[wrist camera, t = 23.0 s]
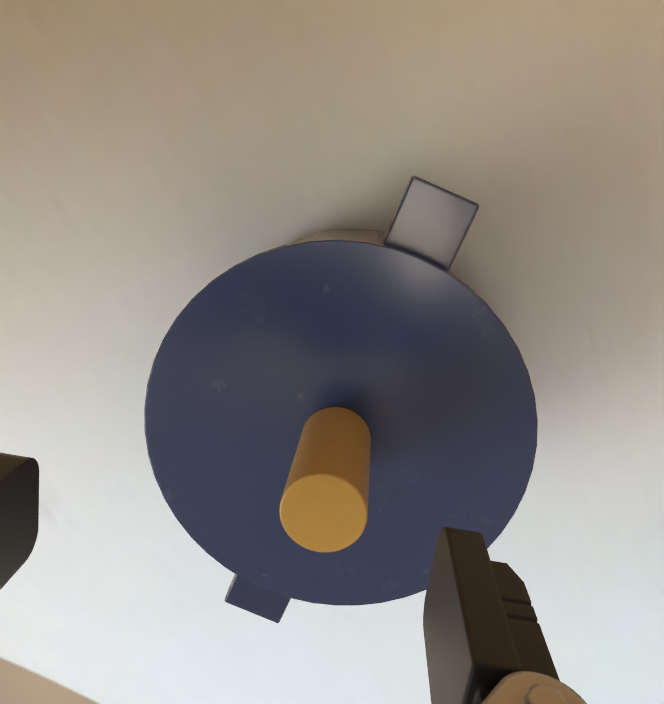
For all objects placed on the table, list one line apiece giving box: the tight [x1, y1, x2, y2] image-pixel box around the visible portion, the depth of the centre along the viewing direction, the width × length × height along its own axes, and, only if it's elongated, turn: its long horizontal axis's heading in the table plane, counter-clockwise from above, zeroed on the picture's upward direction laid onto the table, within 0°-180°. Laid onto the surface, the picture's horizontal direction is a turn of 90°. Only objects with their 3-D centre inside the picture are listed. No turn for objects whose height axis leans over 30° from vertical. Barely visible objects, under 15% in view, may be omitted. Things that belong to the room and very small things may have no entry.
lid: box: [145, 239, 538, 605], centre depth 20 cm, size 14×14×6 cm
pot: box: [225, 176, 479, 623], centre depth 27 cm, size 13×18×9 cm
